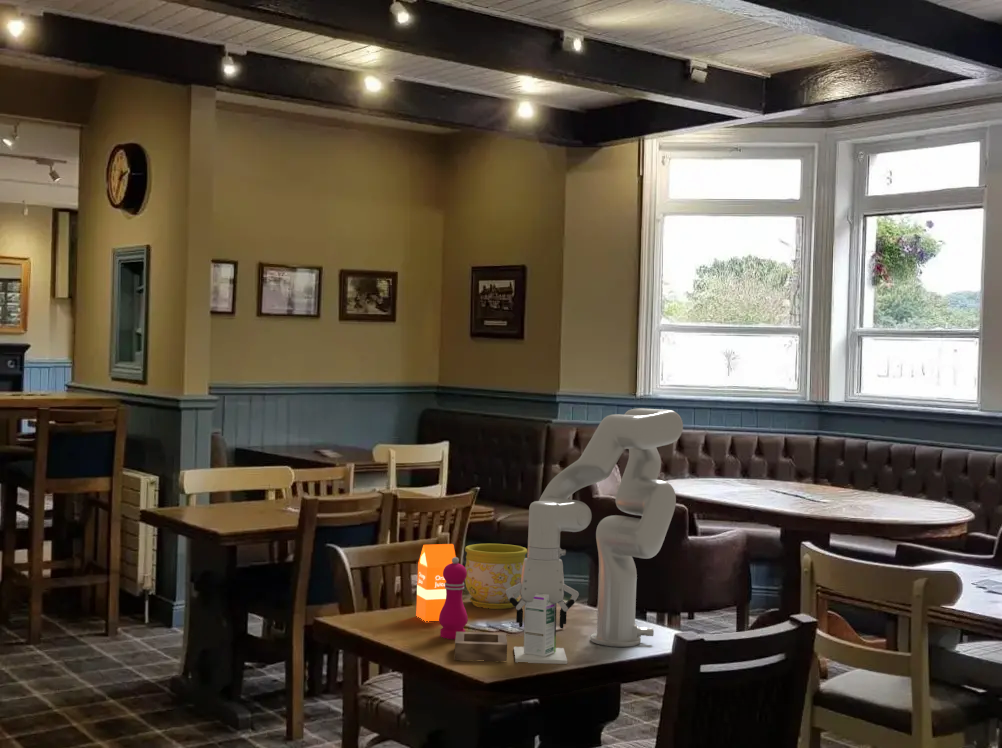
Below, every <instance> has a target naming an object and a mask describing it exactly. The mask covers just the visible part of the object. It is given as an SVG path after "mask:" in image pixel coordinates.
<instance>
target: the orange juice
mask: <svg viewBox="0 0 1002 748" xmlns="http://www.w3.org/2000/svg"><path fill="white" fill-rule="evenodd" d="M454 557H457V555H456V551H455V546H454V544H453V543H442V544H441V543H440V544H437V543H436V544H423V546H422V549H421V552H420V556H419V559H418V562H417V585H416V609H415V611H416V613H415V617H416V616H417V617H416V618H418V617H419V618H421V619H422V620H421V619H420V620H421V621H423V620H424V621H425V622H424V621H423V622H424V623H430V622H429V621H439V615H440V612H441V610H442V608H443V606H444V603H445V600H446V589H445V588H444V587H445V582H446V580H445V579H444V577H443V571H444V568H445V567H446V566H447V565H448V564H451V563H452V559H453V558H454ZM419 618H418V619H419ZM426 621H428V622H426Z"/></svg>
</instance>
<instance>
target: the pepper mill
mask: <svg viewBox="0 0 1002 748" xmlns="http://www.w3.org/2000/svg"><path fill="white" fill-rule="evenodd" d="M459 561H460V559H459V557H457V556H456V557H454V558H453V559H452V563H451V564H448V565H447V566H446V567H445V568H444V571H443V577H444V579H445V580H446V582H445V587H444V588H445V589H446V600H445V603H444V606H443V608H442V610H441V612H440V615H439V622H438V623H439V624H440V626H441V627H442V628H441V629H439V630H440V638H442V637H443V638H442V639H445V638H447V639H446V640H455V639H456V631H457V632H466V629H465V628H464V627H465V626H466V625H467V623H468V618H469V617H468V613H467V610H466V607H465V605H464V602H463V590H464V589H465V579H466V576H467V571H466V568H465V566H464V565H463V564H461V563H459Z"/></svg>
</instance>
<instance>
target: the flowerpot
mask: <svg viewBox="0 0 1002 748" xmlns="http://www.w3.org/2000/svg"><path fill="white" fill-rule="evenodd" d="M464 551H465V552H466V556H465V558H466V560H465V566H464V567H465V568H466V571H467V576H466V579H465V580H464V585H465V587H466V590H467V592H468V594H469V595H470V596H471V597H470V598H469V601H470V602H471V603H472V605H473V606H474V607H477V606H478V608H481V607H483V609H488V608H489V609H491V610H505V609H513V608H515V607H514V606H513V605H512V604H511V602H510V601H509V599H508V597H507V594H506V589H508V588H510V587H512V586H514V585H516V584H519V583H521V576H522V567H523V562H524V559H525V558H526V555H528V548H526V547H523V546H521V545H514V544H507V543H506V544H503V543H476V544H474V543H473V544H469V545H467V546H465V548H464ZM513 597H514V598H515V599H516V600H517V601H519V600H520V599H519V597H521V594H520V590H518V591H516V592H514V593H513ZM489 609H488V610H489Z"/></svg>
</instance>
